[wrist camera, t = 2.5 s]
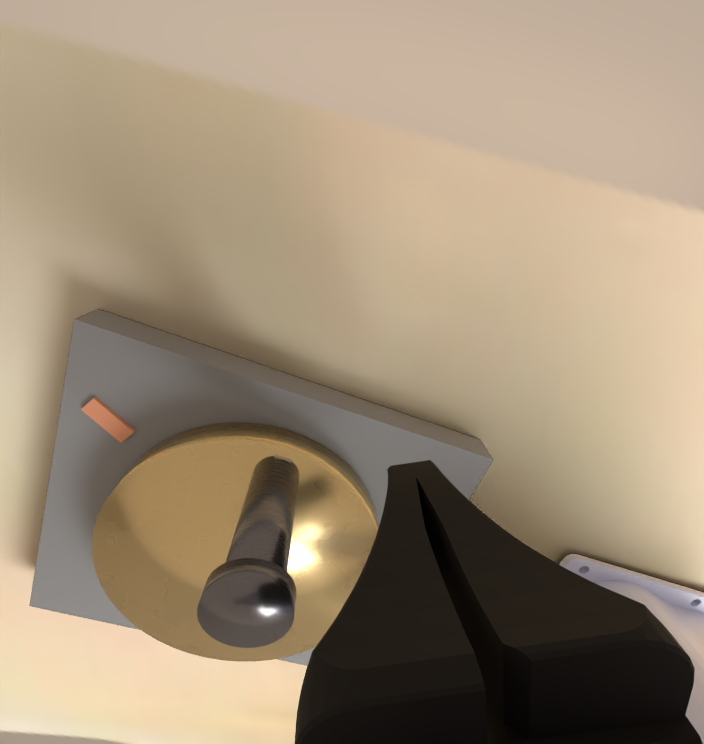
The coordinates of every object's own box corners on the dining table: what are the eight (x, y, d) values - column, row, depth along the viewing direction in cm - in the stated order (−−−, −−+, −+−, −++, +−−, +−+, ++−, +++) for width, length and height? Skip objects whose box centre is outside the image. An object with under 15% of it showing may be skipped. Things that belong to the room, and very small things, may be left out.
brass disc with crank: (325, 649, 20) (322, 853, 14) (92, 596, 18) (-39, 806, 12) (422, 470, 16) (478, 635, 10) (141, 380, 14) (-11, 514, 8)
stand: (480, 439, 18) (494, 461, 16) (359, 648, 22) (361, 680, 21) (98, 309, 15) (71, 320, 13) (51, 577, 19) (27, 608, 18)
